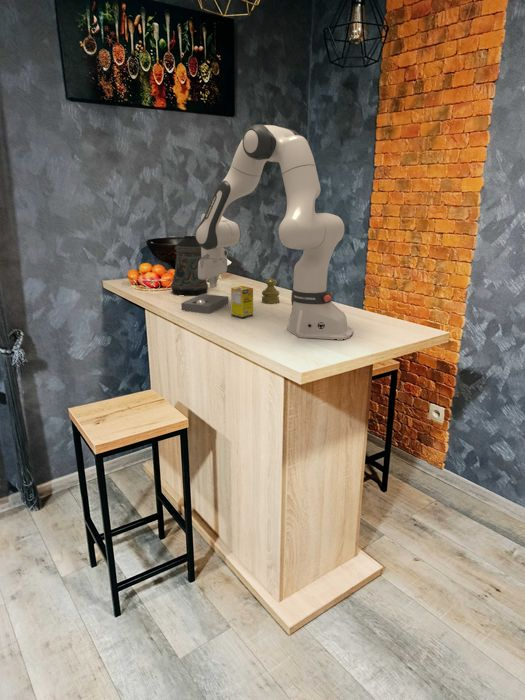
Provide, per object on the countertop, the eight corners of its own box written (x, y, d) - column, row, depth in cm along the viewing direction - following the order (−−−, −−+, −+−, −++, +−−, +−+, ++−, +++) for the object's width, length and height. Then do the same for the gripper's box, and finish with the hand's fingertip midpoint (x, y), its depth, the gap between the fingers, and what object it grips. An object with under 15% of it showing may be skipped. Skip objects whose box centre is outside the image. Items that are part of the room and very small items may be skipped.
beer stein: (164, 294, 220) (161, 237, 212) (186, 286, 237) (184, 233, 229) (196, 297, 214) (195, 239, 206) (217, 289, 231) (216, 235, 223)
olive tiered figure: (281, 303, 207) (282, 279, 203) (265, 304, 204) (265, 280, 201) (275, 299, 213) (275, 276, 210) (259, 300, 211) (259, 277, 207)
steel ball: (204, 311, 194) (208, 304, 197) (202, 304, 191) (206, 297, 194) (195, 310, 196) (199, 303, 198) (193, 303, 192) (196, 296, 195)
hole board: (228, 303, 205) (228, 296, 204) (209, 313, 189) (208, 306, 188) (202, 300, 209) (202, 293, 208) (181, 310, 193) (181, 303, 192)
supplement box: (253, 316, 186) (253, 287, 183) (242, 319, 182) (242, 290, 179) (242, 313, 190) (242, 285, 187) (231, 316, 186) (230, 287, 182)
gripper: (207, 256, 187) (209, 292, 192) (229, 250, 205) (230, 283, 210) (193, 256, 189) (194, 291, 194) (216, 250, 208) (217, 282, 212)
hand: (213, 287), depth 202 cm, fingers closed
